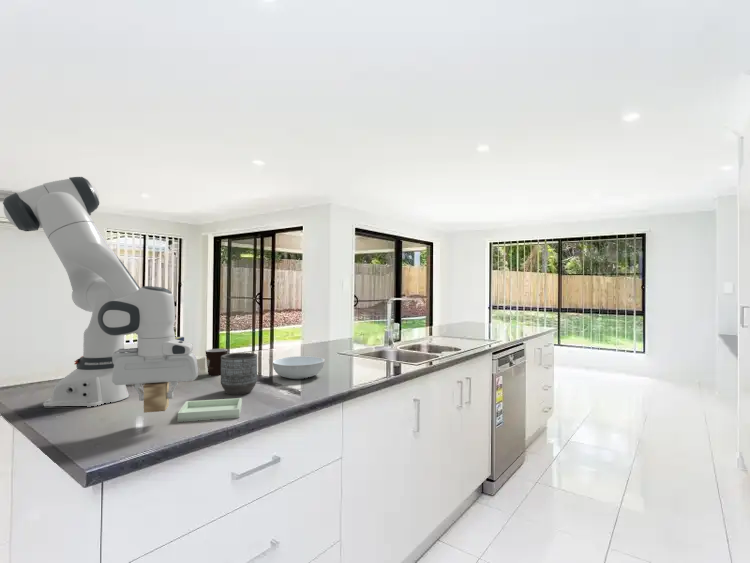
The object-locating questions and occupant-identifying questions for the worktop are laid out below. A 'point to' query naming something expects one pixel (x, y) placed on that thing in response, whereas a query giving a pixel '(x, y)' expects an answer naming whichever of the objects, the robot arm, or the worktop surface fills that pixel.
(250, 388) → the planter
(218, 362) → the coffee mug
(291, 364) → the serving bowl
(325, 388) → the worktop surface
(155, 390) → the box
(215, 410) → the tray
